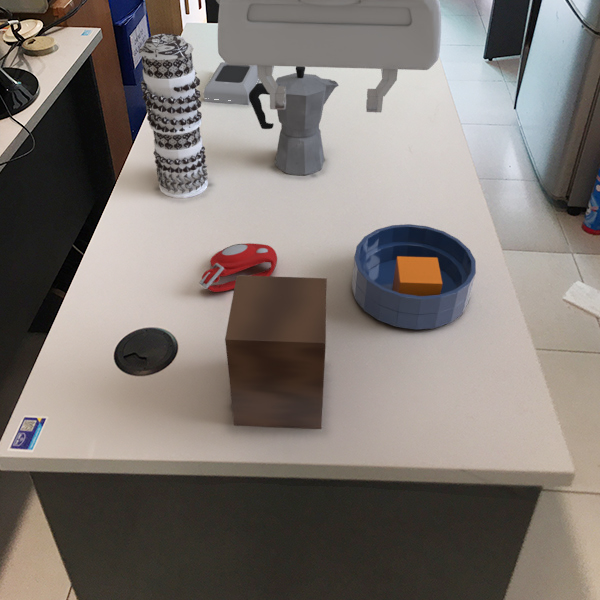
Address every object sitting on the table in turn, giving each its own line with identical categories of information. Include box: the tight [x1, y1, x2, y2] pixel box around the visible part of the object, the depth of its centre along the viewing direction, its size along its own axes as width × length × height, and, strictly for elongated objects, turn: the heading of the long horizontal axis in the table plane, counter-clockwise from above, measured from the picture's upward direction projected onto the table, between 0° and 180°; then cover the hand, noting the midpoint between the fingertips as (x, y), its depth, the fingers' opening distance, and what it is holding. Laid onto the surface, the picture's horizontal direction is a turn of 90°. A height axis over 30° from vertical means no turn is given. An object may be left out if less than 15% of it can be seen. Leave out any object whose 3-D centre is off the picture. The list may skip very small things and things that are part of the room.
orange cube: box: [393, 256, 442, 296], centre depth 85 cm, size 6×6×6 cm
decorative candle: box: [138, 33, 209, 199], centre depth 102 cm, size 9×9×25 cm
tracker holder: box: [199, 243, 278, 293], centre depth 91 cm, size 12×4×10 cm
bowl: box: [351, 223, 477, 330], centre depth 87 cm, size 16×16×6 cm
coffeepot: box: [249, 67, 340, 176], centre depth 110 cm, size 15×9×18 cm, turn 102°
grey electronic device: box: [203, 61, 261, 106], centre depth 139 cm, size 10×4×15 cm
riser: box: [224, 274, 328, 430], centre depth 71 cm, size 10×10×14 cm
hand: (325, 108), depth 62 cm, fingers open, 8 cm apart
